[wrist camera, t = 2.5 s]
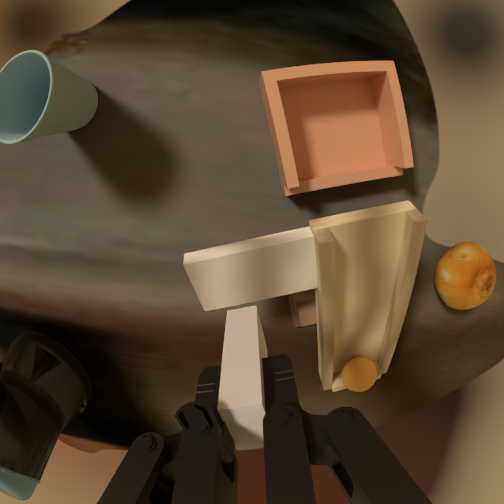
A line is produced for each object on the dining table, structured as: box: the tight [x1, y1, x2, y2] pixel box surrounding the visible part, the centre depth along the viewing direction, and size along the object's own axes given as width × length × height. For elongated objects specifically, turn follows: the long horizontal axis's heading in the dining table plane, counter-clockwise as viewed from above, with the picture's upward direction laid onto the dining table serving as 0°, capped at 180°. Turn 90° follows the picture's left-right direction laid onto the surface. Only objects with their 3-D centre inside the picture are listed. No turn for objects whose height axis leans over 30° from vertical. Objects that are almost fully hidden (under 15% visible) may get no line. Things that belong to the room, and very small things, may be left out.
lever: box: [183, 200, 427, 392], centre depth 26 cm, size 17×22×3 cm
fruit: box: [434, 242, 496, 310], centre depth 29 cm, size 8×8×8 cm
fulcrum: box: [288, 288, 317, 328], centre depth 30 cm, size 12×7×5 cm, turn 102°
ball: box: [342, 357, 377, 392], centre depth 30 cm, size 4×4×4 cm
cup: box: [0, 50, 98, 144], centre depth 20 cm, size 8×8×10 cm
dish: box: [259, 61, 414, 196], centre depth 25 cm, size 12×11×4 cm
